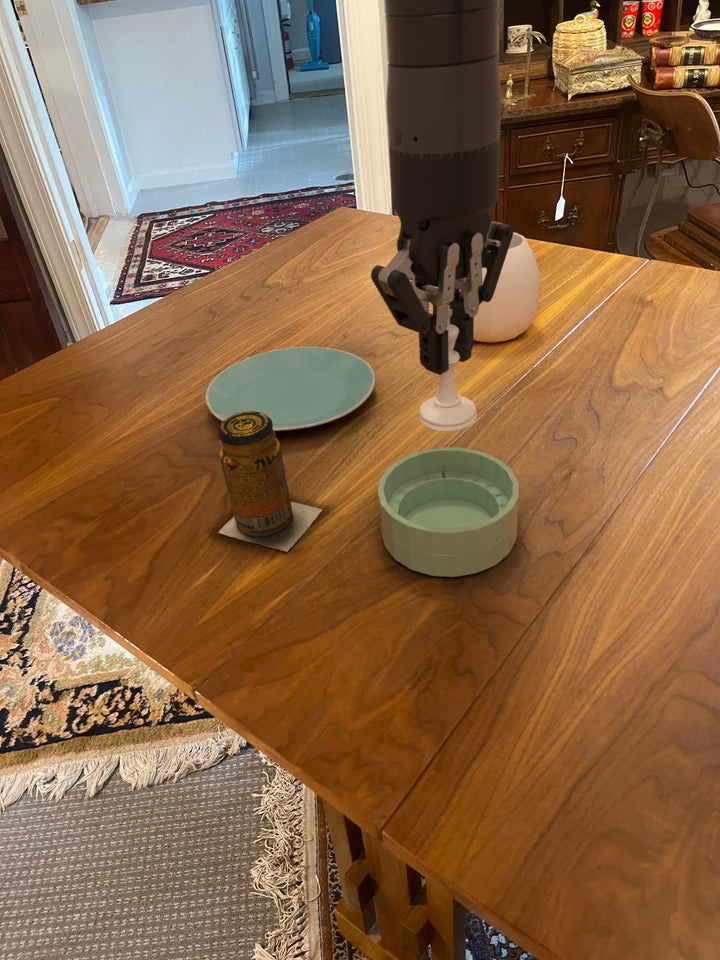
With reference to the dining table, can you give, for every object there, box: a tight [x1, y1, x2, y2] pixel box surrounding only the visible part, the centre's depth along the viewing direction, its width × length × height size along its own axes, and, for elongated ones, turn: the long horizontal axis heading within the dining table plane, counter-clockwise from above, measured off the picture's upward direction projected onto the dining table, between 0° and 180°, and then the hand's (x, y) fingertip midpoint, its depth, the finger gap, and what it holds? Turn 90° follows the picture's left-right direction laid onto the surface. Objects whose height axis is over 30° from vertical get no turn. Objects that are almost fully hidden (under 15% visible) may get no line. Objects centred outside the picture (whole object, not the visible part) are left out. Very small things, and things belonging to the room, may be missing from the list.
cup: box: [459, 232, 541, 343], centre depth 104 cm, size 13×13×14 cm
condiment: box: [217, 411, 323, 553], centre depth 73 cm, size 7×8×12 cm
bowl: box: [376, 446, 520, 578], centre depth 71 cm, size 13×13×6 cm
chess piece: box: [418, 305, 478, 432], centre depth 60 cm, size 5×5×10 cm
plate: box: [204, 346, 376, 432], centre depth 96 cm, size 22×22×3 cm
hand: (447, 363), depth 60 cm, fingers closed on chess piece
